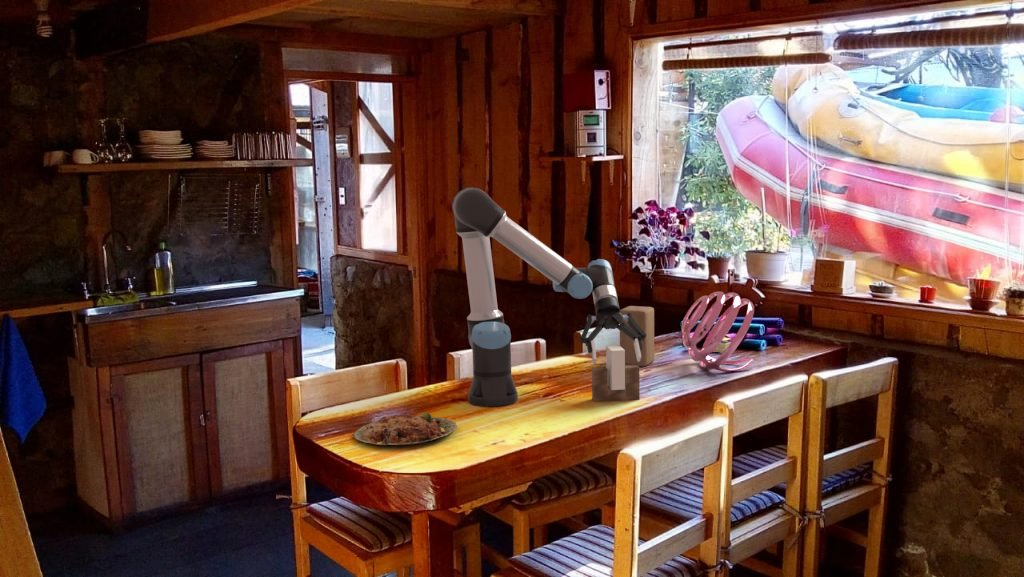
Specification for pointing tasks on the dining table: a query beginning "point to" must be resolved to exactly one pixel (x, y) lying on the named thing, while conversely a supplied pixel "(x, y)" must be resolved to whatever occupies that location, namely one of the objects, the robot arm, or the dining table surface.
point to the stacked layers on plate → (722, 345)
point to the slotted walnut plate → (606, 394)
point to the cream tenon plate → (615, 366)
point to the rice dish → (405, 429)
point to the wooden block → (646, 323)
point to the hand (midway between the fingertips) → (617, 360)
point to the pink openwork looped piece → (715, 330)
